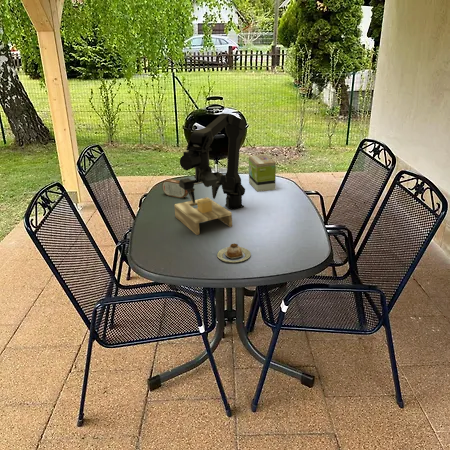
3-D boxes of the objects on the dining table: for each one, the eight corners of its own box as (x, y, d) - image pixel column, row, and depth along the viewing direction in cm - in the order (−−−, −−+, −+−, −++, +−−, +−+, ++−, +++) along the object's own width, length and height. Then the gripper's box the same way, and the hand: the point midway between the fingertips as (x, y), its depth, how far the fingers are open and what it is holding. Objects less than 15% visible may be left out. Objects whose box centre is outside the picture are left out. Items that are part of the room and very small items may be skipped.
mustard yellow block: (207, 215, 183) (206, 198, 180) (212, 218, 180) (211, 201, 177) (198, 217, 181) (197, 200, 178) (202, 220, 178) (201, 203, 175)
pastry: (254, 262, 150) (254, 250, 148) (220, 266, 148) (220, 254, 146) (246, 247, 161) (245, 236, 159) (214, 251, 159) (213, 240, 157)
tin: (189, 198, 211) (188, 181, 208) (185, 200, 209) (184, 183, 206) (165, 193, 219) (164, 177, 216) (161, 195, 217) (160, 179, 213)
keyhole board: (208, 209, 196) (207, 197, 194) (232, 226, 178) (231, 212, 176) (175, 217, 189) (174, 204, 187) (196, 235, 171) (195, 221, 169)
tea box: (248, 183, 229) (248, 156, 223) (266, 181, 231) (266, 154, 225) (257, 192, 216) (256, 163, 210) (276, 190, 218) (276, 161, 212)
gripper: (188, 172, 161) (191, 211, 167) (232, 164, 169) (233, 202, 175) (177, 165, 170) (180, 203, 176) (219, 158, 178) (220, 194, 184)
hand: (204, 200), depth 177 cm, fingers open, 9 cm apart
